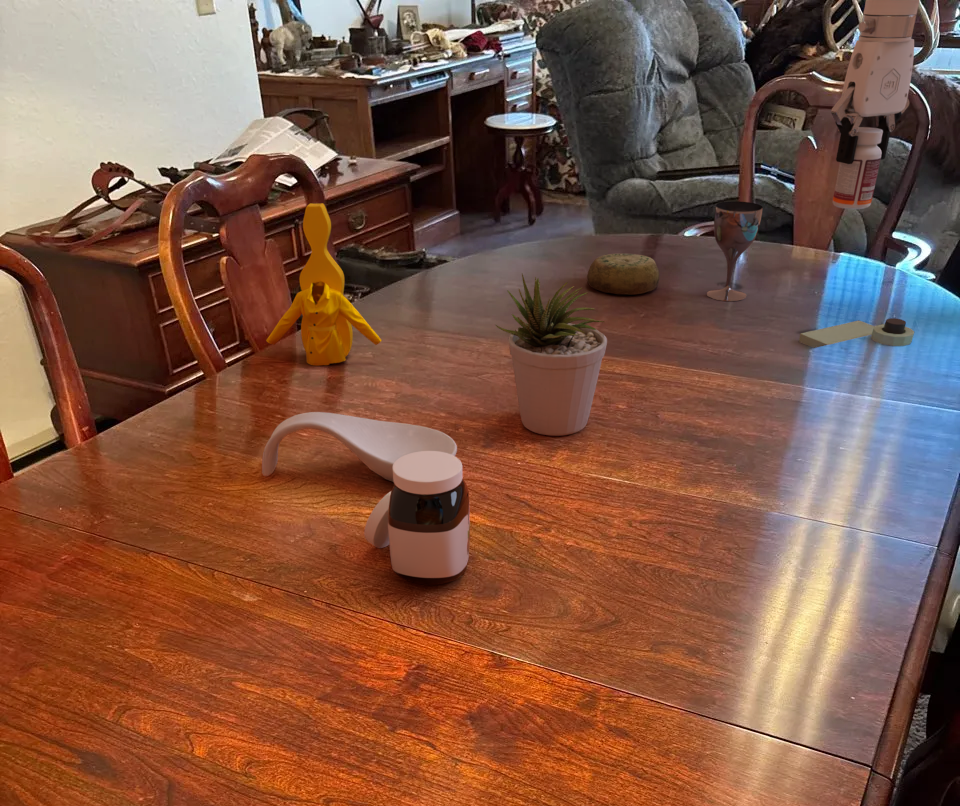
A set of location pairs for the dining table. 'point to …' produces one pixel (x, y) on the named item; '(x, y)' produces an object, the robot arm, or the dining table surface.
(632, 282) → the cheese wheel
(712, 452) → the dining table surface
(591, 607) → the dining table surface
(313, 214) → the figure statuette
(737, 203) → the wine glass
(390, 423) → the spoon rest
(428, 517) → the spread jar
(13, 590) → the dining table surface
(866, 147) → the pill bottle
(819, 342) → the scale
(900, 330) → the button
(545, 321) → the potted plant
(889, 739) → the dining table surface
